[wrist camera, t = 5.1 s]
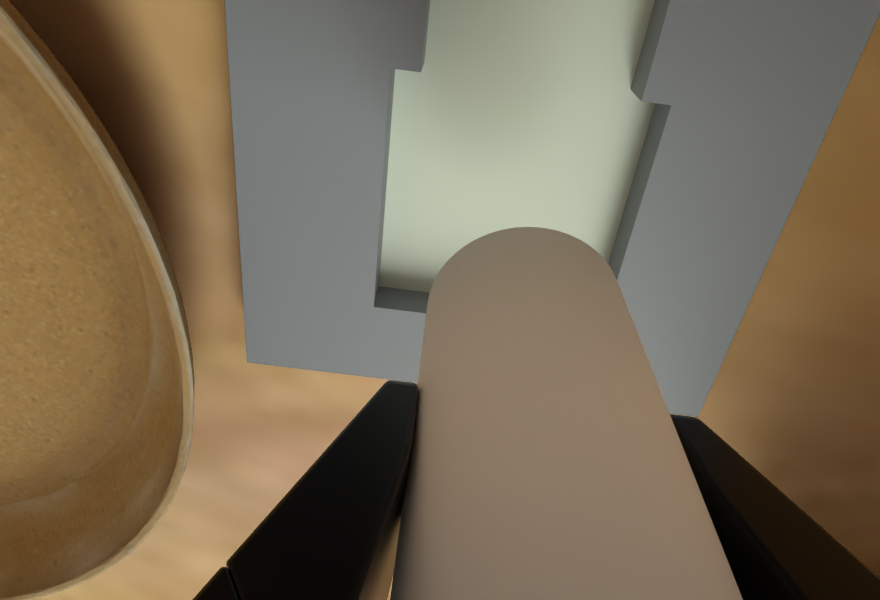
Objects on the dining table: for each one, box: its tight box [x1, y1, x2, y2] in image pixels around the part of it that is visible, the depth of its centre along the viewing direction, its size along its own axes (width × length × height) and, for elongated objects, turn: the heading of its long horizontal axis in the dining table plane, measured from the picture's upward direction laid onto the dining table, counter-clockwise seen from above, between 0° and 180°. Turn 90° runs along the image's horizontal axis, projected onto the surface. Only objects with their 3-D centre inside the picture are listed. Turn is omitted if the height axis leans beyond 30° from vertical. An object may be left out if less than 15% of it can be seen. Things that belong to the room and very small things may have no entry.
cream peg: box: [390, 227, 743, 600], centre depth 7 cm, size 3×3×9 cm
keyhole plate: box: [225, 0, 880, 417], centre depth 13 cm, size 16×12×1 cm
